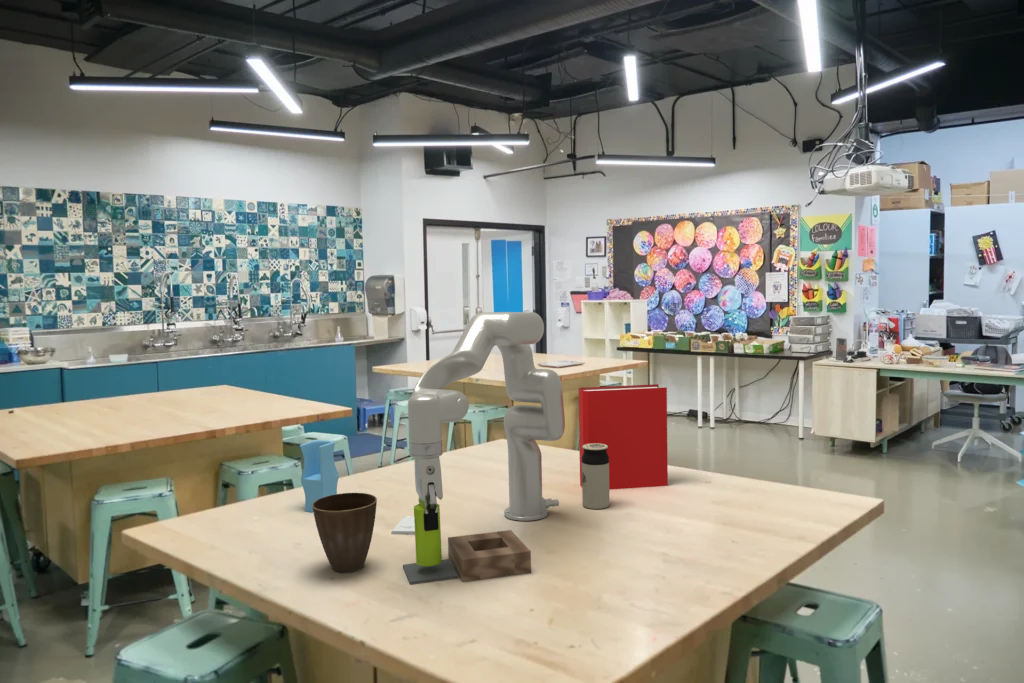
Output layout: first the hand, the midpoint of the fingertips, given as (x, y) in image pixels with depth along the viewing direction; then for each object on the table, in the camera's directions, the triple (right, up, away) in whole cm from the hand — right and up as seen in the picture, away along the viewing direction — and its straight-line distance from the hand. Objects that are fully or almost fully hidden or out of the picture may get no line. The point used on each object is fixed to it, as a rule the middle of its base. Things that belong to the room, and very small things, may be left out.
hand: (428, 524), depth 175 cm
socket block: (+14, -11, +5) cm, 18 cm away
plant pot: (-20, -12, +5) cm, 24 cm away
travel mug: (+44, -7, +50) cm, 67 cm away
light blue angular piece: (-38, -8, +54) cm, 67 cm away
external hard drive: (-8, -10, +34) cm, 37 cm away
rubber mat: (0, -11, +1) cm, 11 cm away
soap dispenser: (0, -9, +1) cm, 9 cm away
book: (+55, -5, +72) cm, 91 cm away
